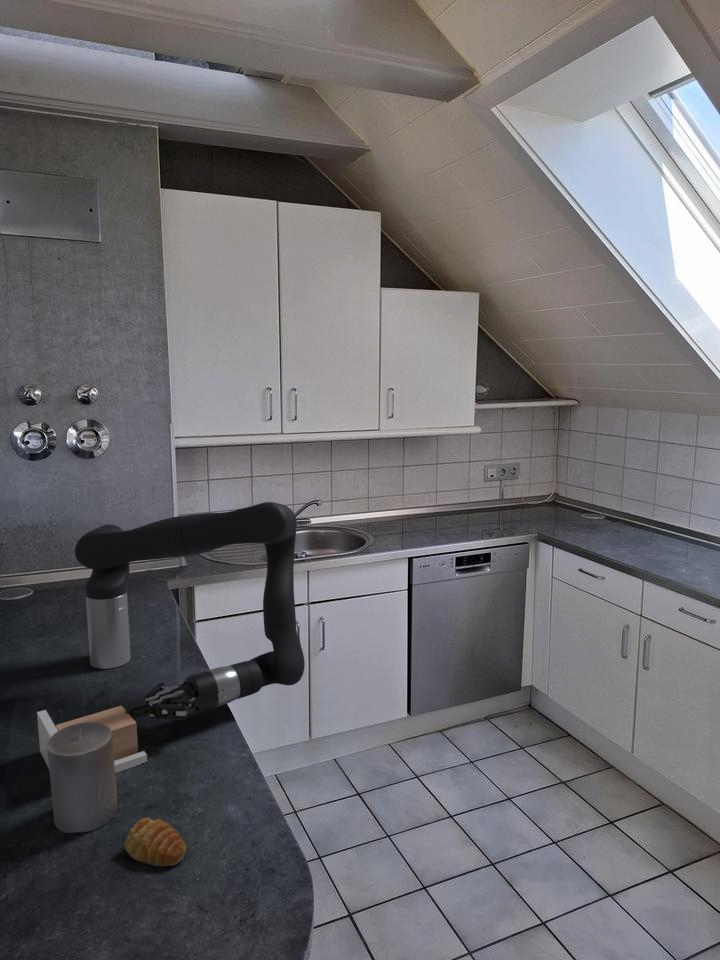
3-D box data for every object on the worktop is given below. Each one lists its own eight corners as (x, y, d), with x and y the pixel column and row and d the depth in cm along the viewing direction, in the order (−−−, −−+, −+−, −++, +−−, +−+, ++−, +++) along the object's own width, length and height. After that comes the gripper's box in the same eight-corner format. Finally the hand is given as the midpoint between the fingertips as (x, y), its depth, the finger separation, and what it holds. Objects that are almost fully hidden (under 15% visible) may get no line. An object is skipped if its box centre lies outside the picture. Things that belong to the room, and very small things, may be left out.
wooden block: (58, 760, 128) (55, 725, 127) (123, 738, 136) (121, 705, 134) (71, 781, 122) (68, 744, 121) (138, 757, 129) (136, 722, 128)
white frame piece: (40, 751, 131) (36, 712, 129) (120, 726, 139) (118, 689, 138) (60, 792, 119) (57, 749, 117) (147, 762, 128) (145, 721, 126)
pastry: (197, 850, 106) (196, 827, 105) (165, 879, 100) (164, 855, 99) (152, 829, 110) (151, 807, 109) (119, 856, 104) (117, 833, 104)
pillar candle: (97, 788, 120) (91, 708, 117) (129, 811, 114) (123, 727, 111) (42, 817, 113) (33, 732, 110) (73, 844, 106) (65, 755, 104)
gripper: (198, 659, 147) (115, 681, 136) (226, 683, 136) (138, 709, 126) (199, 692, 148) (117, 717, 138) (227, 719, 138) (140, 747, 127)
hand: (127, 713), depth 132 cm, fingers closed
